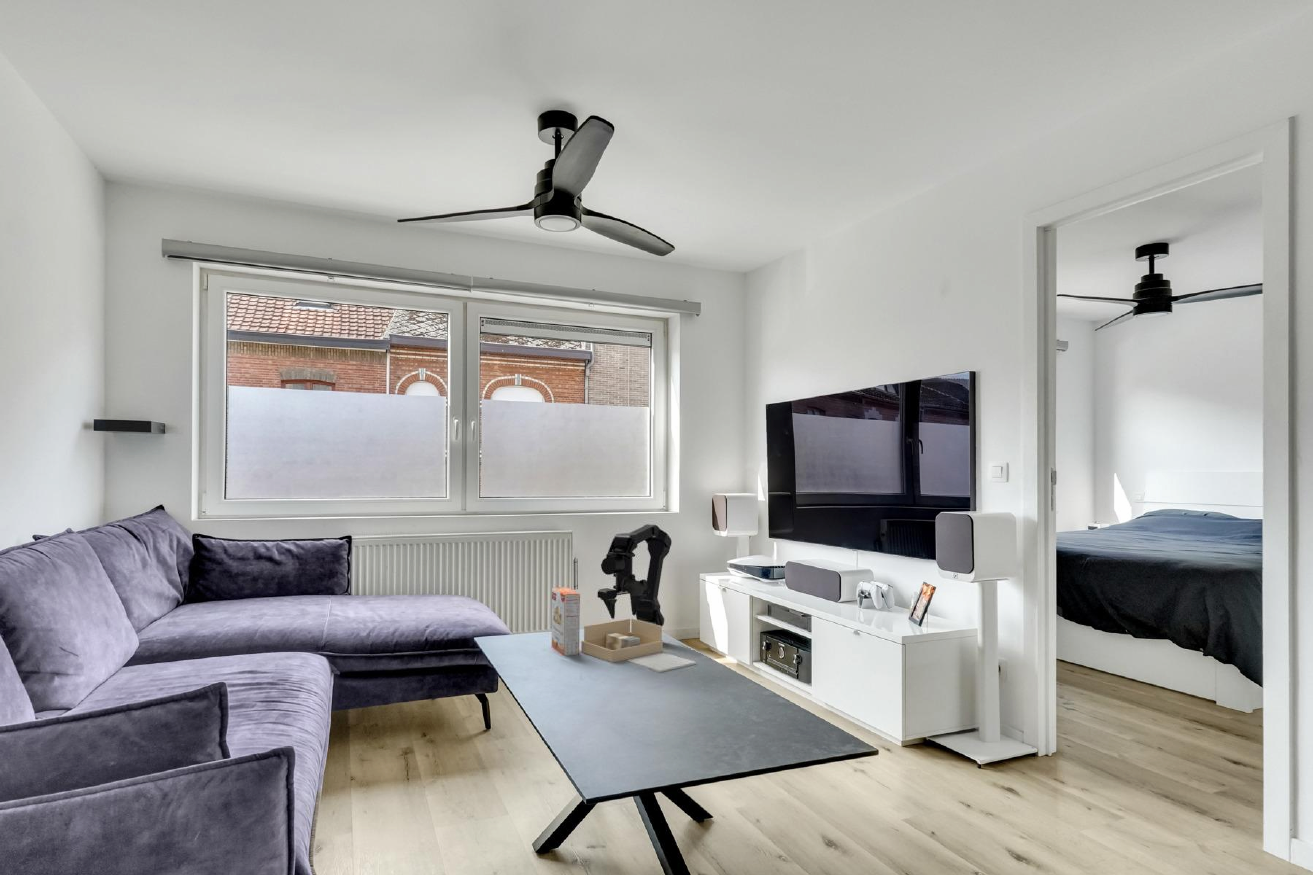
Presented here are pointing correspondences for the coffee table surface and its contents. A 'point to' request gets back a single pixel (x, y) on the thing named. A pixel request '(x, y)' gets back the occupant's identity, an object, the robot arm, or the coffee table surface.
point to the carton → (640, 629)
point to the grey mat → (662, 662)
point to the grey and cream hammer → (620, 641)
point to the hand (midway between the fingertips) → (623, 616)
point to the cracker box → (565, 620)
